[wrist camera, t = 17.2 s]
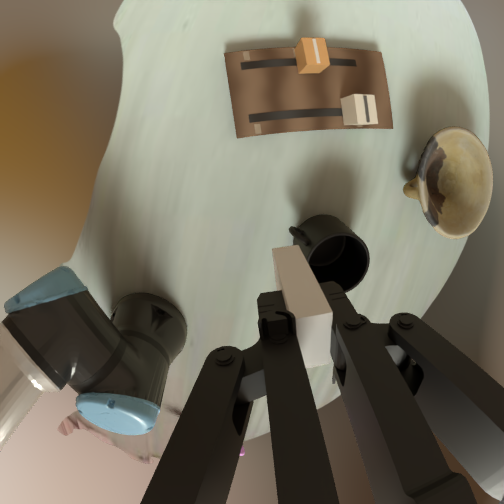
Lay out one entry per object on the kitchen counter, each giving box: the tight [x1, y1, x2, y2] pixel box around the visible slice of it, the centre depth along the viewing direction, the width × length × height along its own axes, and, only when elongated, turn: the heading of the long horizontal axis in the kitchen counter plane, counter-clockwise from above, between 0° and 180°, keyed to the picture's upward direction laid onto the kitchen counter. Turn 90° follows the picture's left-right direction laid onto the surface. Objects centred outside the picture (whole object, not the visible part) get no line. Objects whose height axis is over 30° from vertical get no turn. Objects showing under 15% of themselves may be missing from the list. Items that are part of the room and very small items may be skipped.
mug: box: [289, 215, 370, 293], centre depth 39 cm, size 9×12×9 cm
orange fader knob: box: [294, 38, 330, 74], centre depth 28 cm, size 3×4×5 cm
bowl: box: [403, 127, 493, 239], centre depth 35 cm, size 18×18×10 cm
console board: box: [224, 47, 393, 138], centre depth 33 cm, size 24×13×2 cm, turn 98°
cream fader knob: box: [341, 94, 378, 125], centre depth 31 cm, size 3×4×5 cm
